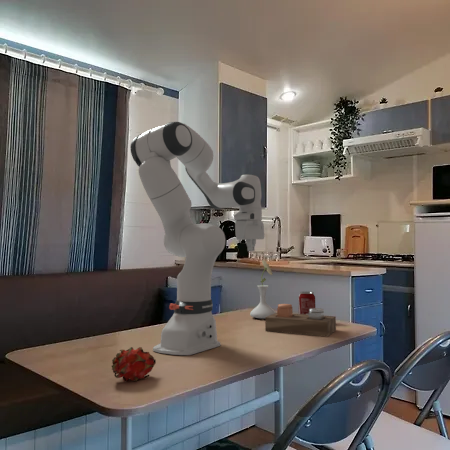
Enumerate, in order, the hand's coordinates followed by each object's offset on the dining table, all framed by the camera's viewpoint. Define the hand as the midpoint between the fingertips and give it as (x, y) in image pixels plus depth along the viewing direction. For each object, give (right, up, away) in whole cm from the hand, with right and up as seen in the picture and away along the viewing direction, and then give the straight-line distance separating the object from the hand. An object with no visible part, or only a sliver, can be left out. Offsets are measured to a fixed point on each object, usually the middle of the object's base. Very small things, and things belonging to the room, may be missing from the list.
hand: (251, 251), depth 175 cm
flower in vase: (+6, -30, +17) cm, 35 cm away
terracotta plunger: (+12, -27, -8) cm, 30 cm away
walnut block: (+18, -29, -11) cm, 35 cm away
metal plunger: (+23, -27, -14) cm, 38 cm away
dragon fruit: (-32, -28, -66) cm, 79 cm away
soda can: (+23, -29, +6) cm, 38 cm away
